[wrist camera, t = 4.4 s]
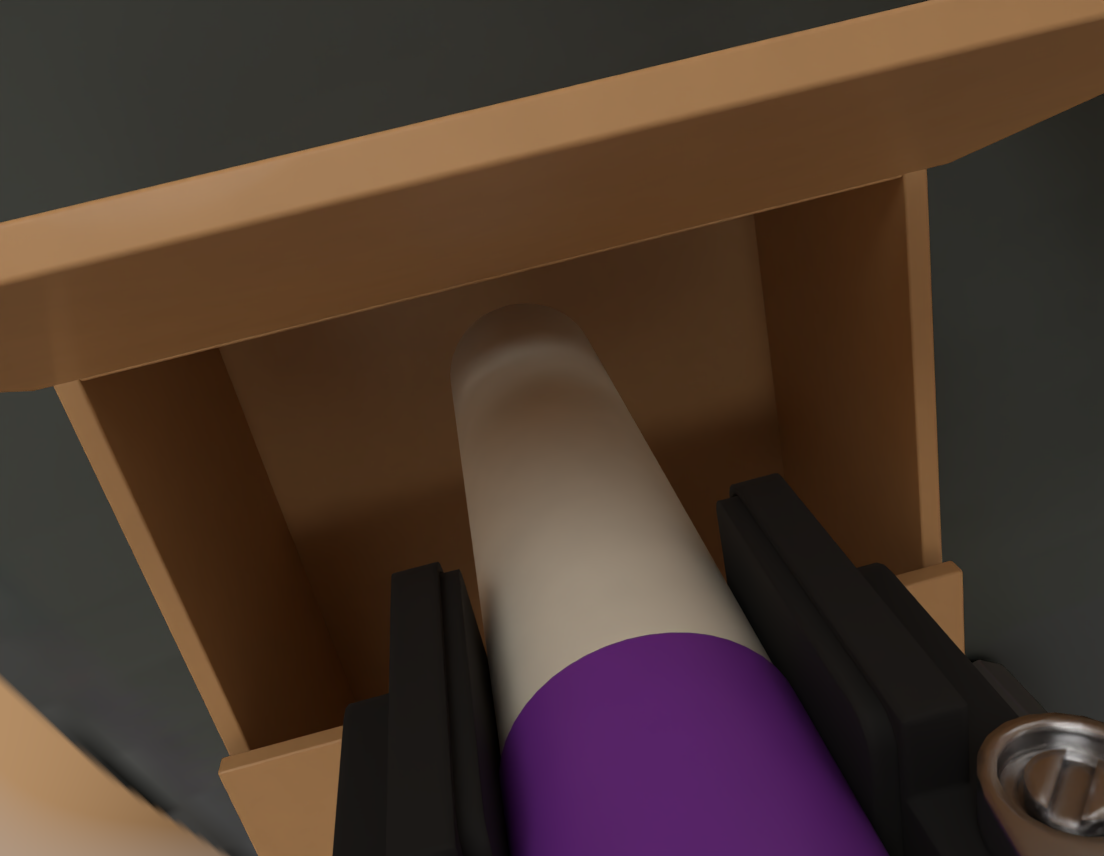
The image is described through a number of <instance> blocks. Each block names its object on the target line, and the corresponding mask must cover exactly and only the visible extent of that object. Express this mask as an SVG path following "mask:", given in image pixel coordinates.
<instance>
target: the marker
mask: <svg viewBox="0 0 1104 856" xmlns="http://www.w3.org/2000/svg"><path fill="white" fill-rule="evenodd" d="M450 378H451V388H452V396H453V403H454V411H455V418H456V426H457V433H458V441H459V448H460V456H461V463H462V471H463V478H464V486H465V493H466V501H467V508H468V515H469V523H470V530H471V538H472V545H473V553H474V560H475V568H476V575H477V583H478V590H479V598H480V605H481V613H482V620H483V628H484V635H485V643H486V650H487V658H488V665H489V673H490V680H491V688H492V695H493V703H494V710H495V718H496V725H497V733H498V740H499V748H500V755H501V760H500V768H499V779H500V787H501V795H502V802H503V810H504V818H505V826H506V834H507V841H508V849H509V856H889V854H888V852H887V851H886V849H885V847H884V845H883V844H882V842H881V840H880V838H879V837H878V835H877V833H876V831H875V830H874V828H873V826H872V825H871V823H870V821H869V819H868V818H867V816H866V814H865V812H864V811H863V809H862V807H861V806H860V804H859V802H858V800H857V799H856V797H855V795H854V793H853V792H852V790H851V788H850V787H849V785H848V783H847V781H846V780H845V778H844V776H843V774H842V773H841V771H840V769H839V768H838V766H837V764H836V762H835V761H834V759H833V757H832V755H831V754H830V752H829V750H828V749H827V747H826V745H825V743H824V742H823V740H822V738H821V736H820V735H819V733H818V731H817V730H816V728H815V726H814V724H813V723H812V721H811V719H810V717H809V716H808V714H807V712H806V711H805V709H804V707H803V705H802V704H801V702H800V700H799V698H798V697H797V695H796V693H795V692H794V690H793V688H792V687H791V685H790V683H789V682H788V680H787V679H786V678H785V676H784V675H783V674H782V673H781V672H780V671H779V670H778V669H777V668H776V667H775V666H774V665H773V664H772V662H771V660H770V658H769V657H768V655H767V653H766V651H765V649H764V648H763V646H762V644H761V642H760V641H759V639H758V637H757V635H756V634H755V632H754V630H753V628H752V627H751V625H750V623H749V621H748V620H747V618H746V616H745V614H744V613H743V611H742V609H741V607H740V606H739V604H738V602H737V600H736V599H735V597H734V595H733V593H732V592H731V590H730V588H729V586H728V585H727V583H726V581H725V579H724V578H723V576H722V574H721V572H720V570H719V569H718V567H717V565H716V563H715V562H714V560H713V558H712V556H711V555H710V553H709V551H708V549H707V548H706V546H705V544H704V542H703V541H702V539H701V537H700V535H699V534H698V532H697V530H696V528H695V527H694V525H693V523H692V521H691V520H690V518H689V516H688V514H687V513H686V511H685V509H684V507H683V506H682V504H681V502H680V500H679V499H678V497H677V495H676V493H675V491H674V490H673V488H672V486H671V484H670V483H669V481H668V479H667V477H666V476H665V474H664V472H663V470H662V469H661V467H660V465H659V463H658V462H657V460H656V458H655V456H654V455H653V453H652V451H651V449H650V448H649V446H648V444H647V442H646V441H645V439H644V437H643V435H642V434H641V432H640V430H639V428H638V427H637V425H636V423H635V421H634V420H633V418H632V416H631V414H630V412H629V411H628V409H627V407H626V405H625V404H624V402H623V400H622V398H621V397H620V395H619V393H618V391H617V390H616V388H615V386H614V384H613V383H612V381H611V379H610V377H609V376H608V374H607V372H606V370H605V369H604V367H603V365H602V363H601V362H600V360H599V358H598V356H597V355H596V353H595V351H594V349H593V348H592V346H591V344H590V342H589V341H588V339H587V337H586V336H585V334H584V332H583V331H582V330H581V329H580V327H579V326H578V325H577V324H576V323H575V322H574V321H573V320H572V319H571V318H569V317H568V316H566V315H565V314H563V313H561V312H559V311H557V310H555V309H553V308H550V307H547V306H543V305H539V304H529V303H523V304H513V305H508V306H504V307H501V308H498V309H496V310H493V311H491V312H489V313H487V314H486V315H484V316H483V317H481V318H480V319H478V320H477V321H476V322H475V323H474V324H472V326H471V327H470V328H469V329H468V330H467V331H466V332H465V334H464V335H463V336H462V338H461V339H460V341H459V343H458V345H457V347H456V349H455V352H454V354H453V358H452V362H451V371H450Z"/></svg>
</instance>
